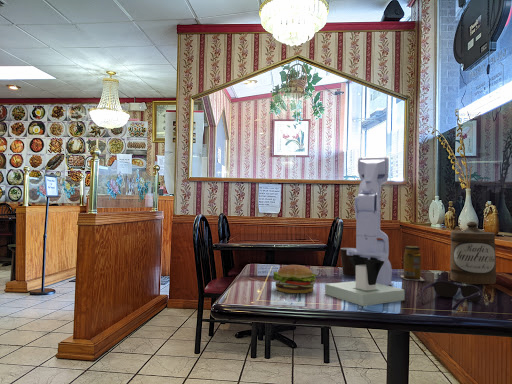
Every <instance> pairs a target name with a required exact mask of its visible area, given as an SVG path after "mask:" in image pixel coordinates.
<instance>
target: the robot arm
mask: <svg viewBox="0 0 512 384" xmlns="http://www.w3.org/2000/svg"><path fill="white" fill-rule="evenodd" d="M357 159H358V160H357V173H358V177H359V179H360V181H361V182H360V183H359V186H358V187H359V188H358V193H357V196H355V197H354V205H353V207H354V214H355V220H356V223H355V225H356V226H355V227H356V228H355V229H356V231H355V236H356V237H355V239H356V240H355V242H356V243H355V246H356V247H355V248H356V249H352V248H353V247H350V248H351V249H347V255H352V256H353V257H352V258H349V260H350V262H351V264H352V266H353V268H354V271H355V275H356V265H366V267H367V273H368V284H369V285H375V284H376V283H378V284H383V285H387V286H394V283H392V263H391V261H390V260H389V254H390V245H389V244H390V241H389V237H388V234H387V233H385V232H384V231H383V230H381V193H382V192H381V191H382V190H381V189H382V187H383V186H382V185H383V183H385V182H387V181H388V179H389V170H390V169H389V167H390V163H389V161H390V160H389V157H388V156H387V155H385V156H359V157H358V158H357Z"/></svg>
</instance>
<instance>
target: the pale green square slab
mask: <svg viewBox="0 0 512 384" xmlns="http://www.w3.org/2000/svg"><path fill="white" fill-rule="evenodd" d="M324 288H325V289H324V293H325V295H327V296H330V297H334V298H337V299H339V300H343V301H345V302H349V303H353V304H355V305H359V306H362V307H364V306H373V305H380V304H387V303H394V302H402V301H405V289H403V288H399V287H396V286H392V285H383V284H378V283H376V289H375V290H366V291H365V290H362V289H358V288H356V280H354V281H353V280H352V281H342V282H341V281H340V282H331V283H325V285H324Z"/></svg>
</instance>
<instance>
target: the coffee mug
mask: <svg viewBox="0 0 512 384" xmlns="http://www.w3.org/2000/svg"><path fill="white" fill-rule="evenodd" d="M351 248H352V249H356V247H341V248H340V259H341V265H342V269H341V270H342V275H344V276H350V277H351V276H354V277H356V275H355V271H354V268H353V266H352V264H351V262H350V260H349V258H352V257H353V256H352V255H347V249H351Z"/></svg>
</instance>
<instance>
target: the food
mask: <svg viewBox="0 0 512 384" xmlns="http://www.w3.org/2000/svg"><path fill="white" fill-rule="evenodd" d="M317 276H318V275H317V274H315V273H313V271H312V270H311V269H310V268H308V267H307V266H305V265H301V264H287V265H283V266H282V267H280V268H279V269H278V270H277V271H273V281H274V280H275V287H276V288H275V289H276V290H277V291H278V290H279V292H281V293H284V292H285V293H286V294H292V293H295V295H298V294H299V293H303V294H308V293H312V292H314V287H315V286H314V285H316V280H317V278H316V277H317ZM296 293H297V294H296Z"/></svg>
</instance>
